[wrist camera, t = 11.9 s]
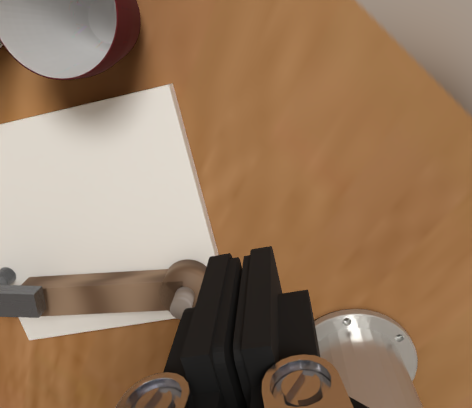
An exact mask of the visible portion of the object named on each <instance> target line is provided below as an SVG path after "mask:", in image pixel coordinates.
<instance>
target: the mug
mask: <svg viewBox="0 0 472 408" xmlns="http://www.w3.org/2000/svg"><path fill="white" fill-rule="evenodd" d="M139 31H140V12H139V7H138V4H137V1H136V0H0V41H1V43H2V44H3V46H4V47H5V49H6V50H7V51H8V52H9V53H10V55H11V56H12V57H13V58H14V59H15V60H16V61H18V62H19V63H20V64H21V65H22V66H24V67H25V68H27V69H28V70H30V71H32V72H34V73H36V74H38V75H40V76H43V77H46V78H50V79H56V80H71V79H80V78H86V77H90V76H94V75H97V74H99V73H101V72H103V71H105V70H107V69H109V68H110V67H112V66H113V65H114V64H115V63H117V62H118V61H119V60H121V59H122V58H123V57H124V56H125V55H127V54H128V53H129V52H130V50H131V49H132V48H133V46H134V45H135V43H136V41H137V38H138V35H139Z"/></svg>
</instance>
